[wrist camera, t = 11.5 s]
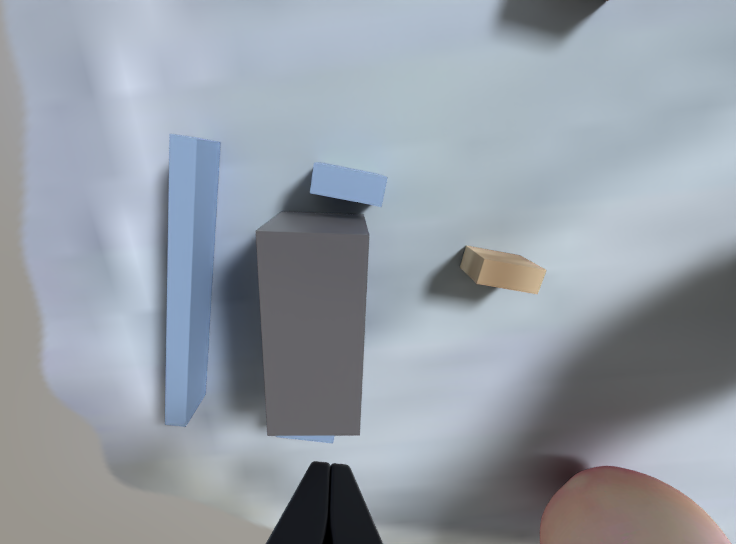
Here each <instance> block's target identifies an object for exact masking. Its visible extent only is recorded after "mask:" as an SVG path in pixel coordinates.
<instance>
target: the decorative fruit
mask: <svg viewBox="0 0 736 544" xmlns="http://www.w3.org/2000/svg"><path fill="white" fill-rule="evenodd" d="M540 544H731V542H730V541H729V539H728V538H727V537H726V535H725V534H724V533H723V531H722V530H721V529H720V528H719V526H718V525H717V524H716V523H715V522H714V521H713V519H712V518H711V517H710V516H709V515H708V514H707V513H706V512H705V511H704V510H703V509H702V508H701V507H700V506H699V505H697V504H696V503H695V502H694V501H693V500H692V499H690V498H689V497H687V496H686V495H684V494H683V493H681V492H680V491H679V490H677V489H675V488H673V487H672V486H670V485H668V484H666V483H664V482H662V481H660V480H658V479H656V478H654V477H651V476H648V475H646V474H643V473H640V472H636V471H633V470H629V469H624V468H620V467H614V466H600V467H594V468H590V469H586V470H583V471H581V472H579V473H577V474H575V475H574V476H573V477H571V478H570V479H569V480H568V481H567V482H566V483H565V484H564V485H563V486H562V487H561V488H560V489H559V490H558V491H557V492H556V493H555V494H554V495H553V497H552V498H551V499H550V501H549V502H548V504H547V506H546V508H545V510H544V512H543V515H542V518H541V524H540Z"/></svg>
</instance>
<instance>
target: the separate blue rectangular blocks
mask: <svg viewBox="0 0 736 544" xmlns="http://www.w3.org/2000/svg"><path fill="white" fill-rule="evenodd" d="M219 159H220V142H216V141H211V140H206V139H201V138H196V137H189V136H182V135H176V134H170V143H169V205H168V268H167V330H166V392H165V425H174V426H183V427H186V425H187V424H188V422H189V421H190V419H191V417H192V416H193V414H194V412H195V411H196V409H197V408H198V406H199V404H200V403H201V401H202V399H203V398H204V396H205V395H206V380H207V363H208V346H209V329H210V312H211V295H212V278H213V261H214V244H215V227H216V210H217V193H218V176H219ZM386 183H387V177H385V176H383V175H379V174H374V173H369V172H365V171H360V170H355V169H350V168H345V167H340V166H335V165H330V164H325V163H320V162H317V163H314V167H313V174H312V181H311V188H310V193H312V194H317V195H322V196H328V197H333V198H338V199H343V200H349V201H354V202H359V203H364V204H369V205H375V206H380V207H382V202H383V197H384V192H385V187H386ZM276 437H281V438H290V439H299V440H308V441H317V442H326V443H333V441H334V436H276Z"/></svg>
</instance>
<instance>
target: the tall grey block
mask: <svg viewBox="0 0 736 544" xmlns="http://www.w3.org/2000/svg"><path fill="white" fill-rule="evenodd" d="M256 246H257V263H258V280H259V298H260V315H261V332H262V349H263V366H264V383H265V401H266V418H267V435H268V436H341V435H360V419H361V398H362V377H363V356H364V335H365V313H366V292H367V271H368V250H369V232H368V228H367V225H366V221H365V217H364V214H341V213H315V212H288V211H281V212H280V213H279V214H277V215H276V216H275V217H273V218H272V219H271V220H269V221H268V222H267V223H265V224H264V225H263V226H261V227H260V228H259V229H258V230H256Z"/></svg>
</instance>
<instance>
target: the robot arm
mask: <svg viewBox="0 0 736 544" xmlns="http://www.w3.org/2000/svg"><path fill="white" fill-rule="evenodd" d="M266 544H383V543H382V540H381V538H380V536H379V533H378V531H377V529H376V526H375V524H374V522H373V519H372V517H371V515H370V513H369V510H368V508H367V506H366V503H365V501H364V499H363V496H362V494H361V492H360V489H359V487H358V485H357V482H356V480H355V478H354V475H353V473H352V471H351V469H350V467H349V466H348V465H345V464H336V463H333V464H331V466H330V464H329V463H326V462H317V461H314V462H312V463H311V464H310V466H309V468H308V470H307V471H306V473H305V475H304V477H303V479H302V480H301V482H300V484H299V486H298V487H297V489H296V491H295V493H294V495H293V496H292V498H291V500H290V502H289V503H288V505H287V507H286V509H285V511H284V512H283V514H282V516H281V518H280V519H279V521H278V523H277V525H276V527H275V528H274V530H273V532H272V534H271V535H270V537H269V539H268V541H267V543H266Z"/></svg>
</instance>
